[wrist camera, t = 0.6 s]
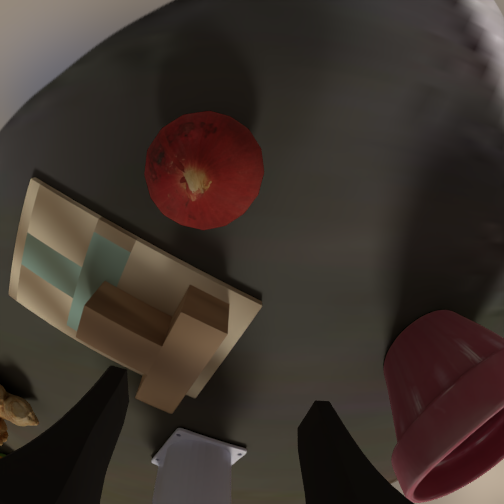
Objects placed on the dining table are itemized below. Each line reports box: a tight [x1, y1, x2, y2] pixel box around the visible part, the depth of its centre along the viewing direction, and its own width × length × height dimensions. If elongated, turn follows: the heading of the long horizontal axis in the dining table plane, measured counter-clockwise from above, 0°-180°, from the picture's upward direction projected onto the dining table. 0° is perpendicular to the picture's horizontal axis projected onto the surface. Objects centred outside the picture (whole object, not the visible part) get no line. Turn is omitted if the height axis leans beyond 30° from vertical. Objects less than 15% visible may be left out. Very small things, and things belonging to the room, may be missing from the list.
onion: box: [144, 111, 264, 230], centre depth 14 cm, size 6×6×8 cm
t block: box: [76, 281, 230, 414], centre depth 20 cm, size 9×8×4 cm
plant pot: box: [384, 310, 504, 503], centre depth 18 cm, size 14×14×13 cm
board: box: [9, 177, 262, 398], centre depth 21 cm, size 11×19×1 cm, turn 59°
